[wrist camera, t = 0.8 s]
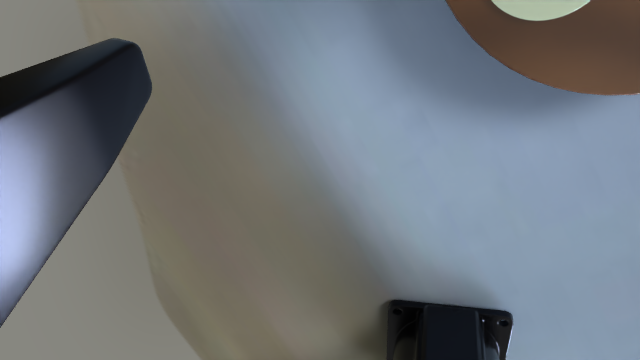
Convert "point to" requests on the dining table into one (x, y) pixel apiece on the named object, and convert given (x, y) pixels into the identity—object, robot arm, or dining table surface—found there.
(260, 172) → the dining table surface
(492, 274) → the dining table surface
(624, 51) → the joystick with buttons
